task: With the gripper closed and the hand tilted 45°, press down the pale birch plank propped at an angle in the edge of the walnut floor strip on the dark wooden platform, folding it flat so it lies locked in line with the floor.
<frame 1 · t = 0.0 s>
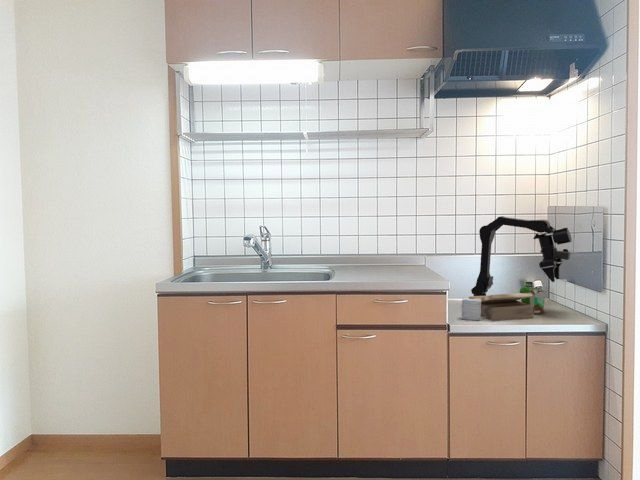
hand: (555, 280, 234), 15 cm above the table, tool pointing down, fingers open, 9 cm apart
food container: (538, 312, 239), on the table
floor platform: (499, 314, 235), on the table
pale plank: (504, 297, 231), point 8 cm above the table, hinge at 20.0°
bell pepper: (528, 303, 260), on the table
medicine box: (471, 319, 227), on the table
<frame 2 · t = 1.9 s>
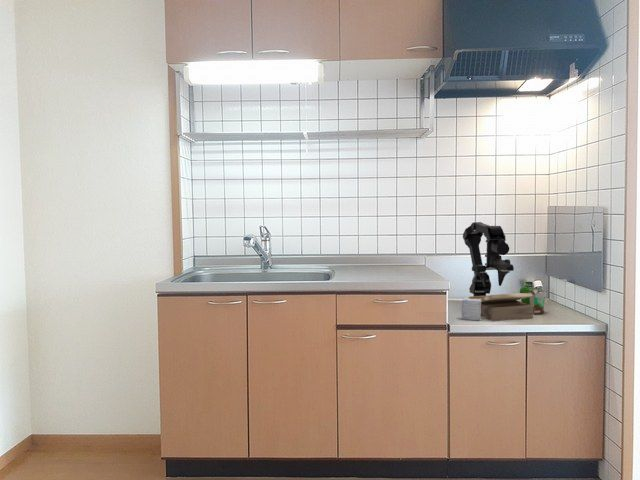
hand: (492, 286, 240), 12 cm above the table, tool pointing down, fingers open, 8 cm apart
nothing on the table moved.
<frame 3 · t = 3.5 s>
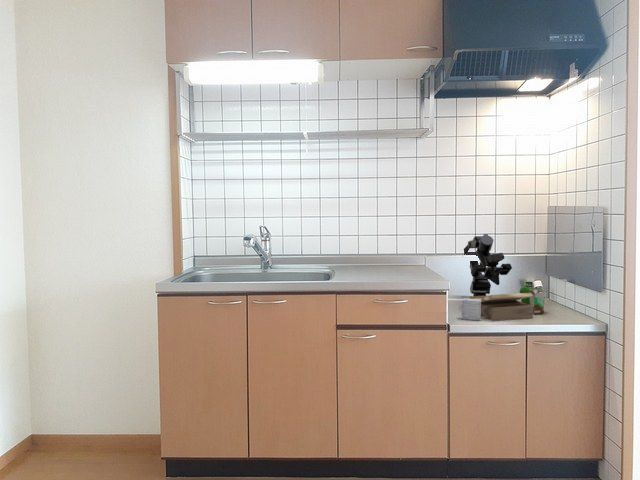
hand: (498, 284, 235), 14 cm above the table, tool tilted 45°, fingers closed
nothing on the table moved.
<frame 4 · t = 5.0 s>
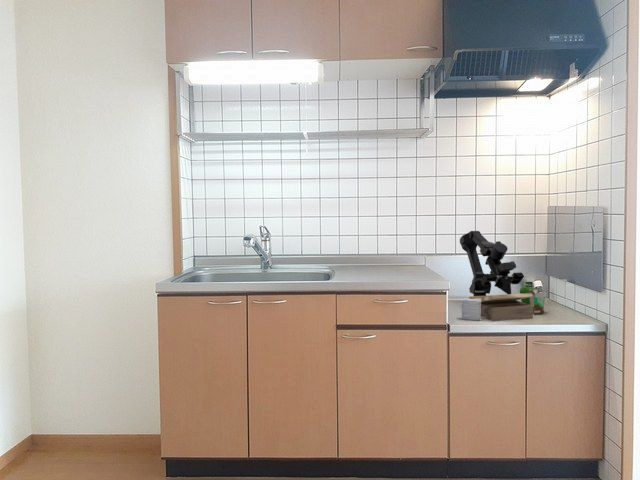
hand: (510, 294, 227), 11 cm above the table, tool tilted 45°, fingers closed, pressing on pale plank
pale plank: (504, 297, 231), point 8 cm above the table, hinge at 19.1°, touching gripper
everything else where it was.
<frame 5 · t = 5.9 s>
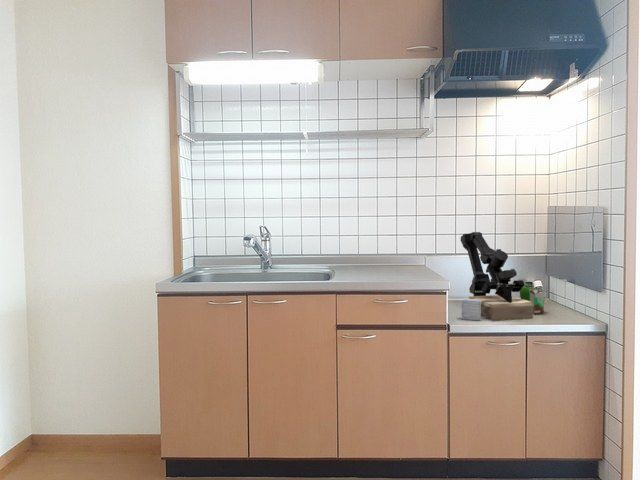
hand: (510, 302, 226), 7 cm above the table, tool tilted 45°, fingers closed, pressing on pale plank
pale plank: (504, 302, 231), point 6 cm above the table, hinge at 0.0°, touching floor platform, gripper
everything else where it was.
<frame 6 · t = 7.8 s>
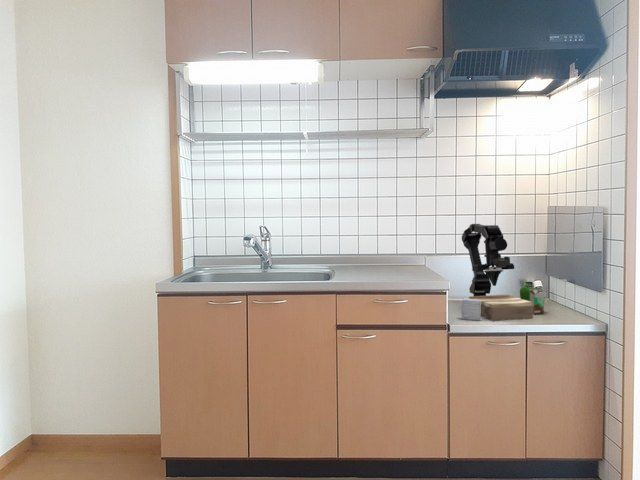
hand: (494, 285, 239), 12 cm above the table, tool pointing down, fingers closed
pale plank: (504, 302, 231), point 6 cm above the table, hinge at 0.0°, touching floor platform
everything else where it was.
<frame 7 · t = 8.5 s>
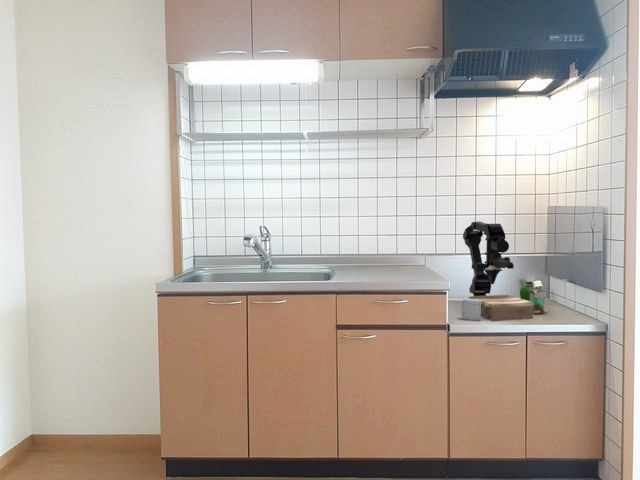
hand: (492, 284, 240), 13 cm above the table, tool pointing down, fingers closed
nothing on the table moved.
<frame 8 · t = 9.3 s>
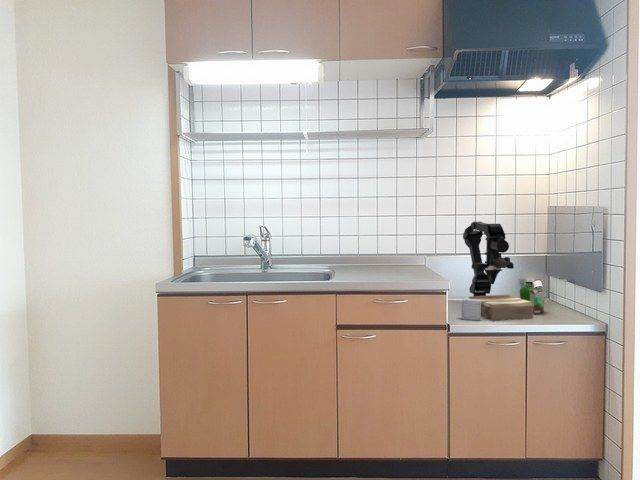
hand: (492, 284, 240), 13 cm above the table, tool pointing down, fingers closed
nothing on the table moved.
at the end: pale plank at +0° (first picture: +20°) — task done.
